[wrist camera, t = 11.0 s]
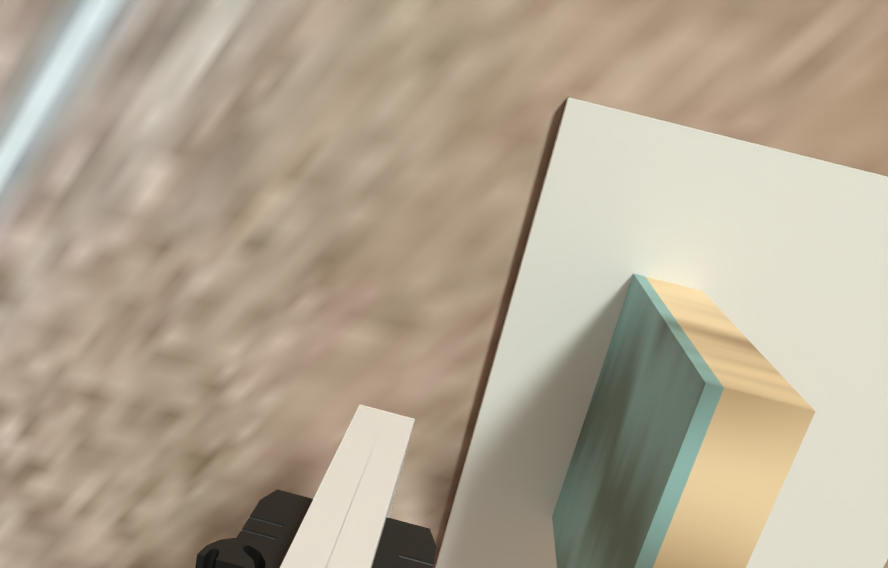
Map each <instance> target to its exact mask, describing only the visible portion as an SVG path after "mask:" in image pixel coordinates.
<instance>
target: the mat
mask: <svg viewBox="0 0 888 568" xmlns="http://www.w3.org/2000/svg"><path fill="white" fill-rule="evenodd" d="M633 274H638V275H642V276H646V277H650V278H654V279H658V280H662V281H665V282H669V283H673V284H677V285H681V286H685V287H689V288H693V289H697V290H701V291H703V292H704V293H705V294H706V295H707V296H708V297H709V298H710V300H711V301H712V302H713V303H714V304H715V305H716V306H717V307H718V308H719V309H720V310H721V311H722V312H723V313H724V314H725V316H726V317H727V318H728V319H729V320H730V321H731V322H732V323H733V324H734V325H735V326H736V327H737V328H738V329H739V330H740V332H741V333H742V334H743V335H744V336H745V337H746V338H747V339H748V340H749V341H750V342H751V343H752V344H753V345H754V346H755V348H756V349H757V350H758V351H759V352H760V353H761V354H762V355H763V356H764V357H765V358H766V359H767V360H768V361H769V362H770V364H771V365H772V366H773V367H774V368H775V369H776V370H777V371H778V372H779V373H780V374H781V375H782V376H783V377H784V378H785V380H786V381H787V382H788V383H789V384H790V385H791V386H792V387H793V388H794V389H795V390H796V391H797V392H798V393H799V394H800V396H801V397H802V398H803V399H804V400H805V401H806V402H807V403H808V404H809V405H810V406H811V407H812V408H813V409H814V410H815V411H816V412H815V414H814V416H813V418H812V421H811V423H810V425H809V427H808V430H807V432H806V434H805V436H804V439H803V441H802V443H801V445H800V448H799V450H798V452H797V454H796V456H795V459H794V461H793V463H792V465H791V468H790V470H789V472H788V474H787V477H786V479H785V481H784V483H783V486H782V488H781V490H780V492H779V495H778V497H777V499H776V501H775V504H774V506H773V508H772V510H771V513H770V515H769V517H768V519H767V522H766V524H765V526H764V528H763V530H762V533H761V535H760V537H759V539H758V542H757V544H756V546H755V548H754V551H753V553H752V555H751V557H750V560H749V562H748V564H747V566H746V568H883V567H884V565H885V563H886V561H887V559H888V177H887V176H883V175H879V174H875V173H871V172H867V171H863V170H859V169H855V168H851V167H847V166H843V165H839V164H835V163H830V162H826V161H822V160H818V159H814V158H810V157H806V156H802V155H798V154H794V153H790V152H786V151H782V150H778V149H774V148H770V147H766V146H762V145H758V144H754V143H750V142H746V141H742V140H738V139H734V138H730V137H726V136H722V135H718V134H714V133H710V132H706V131H702V130H698V129H694V128H690V127H686V126H682V125H678V124H674V123H670V122H666V121H662V120H658V119H654V118H650V117H646V116H642V115H638V114H634V113H630V112H626V111H622V110H618V109H614V108H610V107H606V106H602V105H598V104H594V103H590V102H586V101H582V100H578V99H574V98H570V97H567V100H566V104H565V107H564V111H563V115H562V118H561V122H560V125H559V129H558V132H557V136H556V139H555V143H554V147H553V150H552V154H551V157H550V161H549V164H548V168H547V171H546V175H545V178H544V182H543V186H542V189H541V193H540V196H539V200H538V203H537V207H536V210H535V214H534V217H533V221H532V225H531V228H530V232H529V235H528V239H527V242H526V246H525V249H524V253H523V257H522V260H521V264H520V267H519V271H518V274H517V278H516V281H515V285H514V288H513V292H512V296H511V299H510V303H509V306H508V310H507V313H506V317H505V320H504V324H503V328H502V331H501V335H500V338H499V342H498V345H497V349H496V352H495V356H494V359H493V363H492V367H491V370H490V374H489V377H488V381H487V384H486V388H485V391H484V395H483V399H482V402H481V406H480V409H479V413H478V416H477V420H476V423H475V427H474V430H473V434H472V438H471V441H470V445H469V448H468V452H467V455H466V459H465V462H464V466H463V470H462V473H461V477H460V480H459V484H458V487H457V491H456V494H455V498H454V501H453V505H452V509H451V512H450V516H449V519H448V523H447V526H446V530H445V533H444V537H443V540H442V544H441V548H440V551H439V555H438V558H437V562H436V565H435V568H557V563H556V552H555V542H554V532H553V521H552V516H553V513H554V510H555V507H556V504H557V501H558V498H559V495H560V492H561V489H562V486H563V483H564V480H565V477H566V474H567V471H568V468H569V465H570V462H571V459H572V456H573V453H574V450H575V447H576V444H577V441H578V438H579V435H580V432H581V429H582V426H583V423H584V420H585V417H586V414H587V411H588V408H589V405H590V402H591V399H592V396H593V393H594V390H595V387H596V384H597V381H598V378H599V375H600V372H601V369H602V366H603V363H604V360H605V357H606V354H607V351H608V348H609V345H610V342H611V339H612V336H613V333H614V330H615V327H616V324H617V321H618V318H619V315H620V312H621V309H622V306H623V303H624V300H625V297H626V294H627V292H628V289H629V286H630V283H631V280H632V277H633Z"/></svg>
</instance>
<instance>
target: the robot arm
mask: <svg viewBox="0 0 888 568" xmlns="http://www.w3.org/2000/svg"><path fill="white" fill-rule="evenodd" d="M414 420H415V419H413V418H409V417H406V416H402V415H398V414H394V413H391V412H387V411H383V410H379V409H375V408H372V407H368V406H364V405H359V407H358V409H357V411H356V413H355V415H354V417H353V419H352V421H351V423H350V425H349V427H348V429H347V431H346V433H345V435H344V438H343V440H342V442H341V444H340V446H339V448H338V450H337V452H336V454H335V456H334V458H333V460H332V462H331V464H330V466H329V468H328V470H327V472H326V474H325V476H324V478H323V480H322V483H321V485H320V487H319V489H318V491H317V493H316V495H315V497H314V499H311V498H307V497H303V496H299V495H296V494H292V493H288V492H285V491H281V490H275V491H274V492H272V493H271V494H269V495H268V496H266V497H265V498H263V499H261V500H260V501H259V503H258V504H257V506H256V508H255V509H254V511H253V512H252V514H251V516H250V519H248V521H247V522H246V524H245V525H244V527H243V529H242V531H241V532H240V534H239V535H238V537H237V538H231V539H224V540H218V541H216V542H214V543H211V544H209V545H207V546H206V547H205V548H204V549H202V550H201V551H200V552H199V553H198V554H197V561H196V567H195V568H433V562H434V556H435V550H436V544H435V542H434V539H433V536H432V534H431V531H430V529H428V528H425V527H421V526H417V525H413V524H410V523H406V522H402V521H399V520H395V519H391V518H390V514H391V511H392V508H393V504H394V500H395V496H396V492H397V488H398V484H399V480H400V476H401V472H402V468H403V464H404V460H405V456H406V452H407V448H408V444H409V440H410V436H411V432H412V428H413V424H414Z"/></svg>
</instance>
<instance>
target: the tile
mask: <svg viewBox="0 0 888 568" xmlns="http://www.w3.org/2000/svg"><path fill="white" fill-rule="evenodd" d="M815 412H816V411H815V410H814V409H813V408H812V407H811V406H810V405H809V404H808V403H807V402H806V401H805V400H804V399H803V398H802V397H801V396H800V394H799V393H798V392H797V391H796V390H795V389H794V388H793V387H792V386H791V385H790V384H789V383H788V382H787V381H786V380H785V378H784V377H783V376H782V375H781V374H780V373H779V372H778V371H777V370H776V369H775V368H774V367H773V366H772V365H771V364H770V362H769V361H768V360H767V359H766V358H765V357H764V356H763V355H762V354H761V353H760V352H759V351H758V350H757V349H756V348H755V346H754V345H753V344H752V343H751V342H750V341H749V340H748V339H747V338H746V337H745V336H744V335H743V334H742V333H741V332H740V330H739V329H738V328H737V327H736V326H735V325H734V324H733V323H732V322H731V321H730V320H729V319H728V318H727V317H726V316H725V314H724V313H723V312H722V311H721V310H720V309H719V308H718V307H717V306H716V305H715V304H714V303H713V302H712V301H711V300H710V298H709V297H708V296H707V295H706V294H705V293H704V292H703V291H701V290H697V289H693V288H689V287H685V286H681V285H677V284H673V283H669V282H665V281H662V280H658V279H654V278H650V277H646V276H642V275H638V274H633V277H632V280H631V283H630V286H629V289H628V292H627V294H626V297H625V300H624V303H623V306H622V309H621V312H620V315H619V318H618V321H617V324H616V327H615V330H614V333H613V336H612V339H611V342H610V345H609V348H608V351H607V354H606V357H605V360H604V363H603V366H602V369H601V372H600V375H599V378H598V381H597V384H596V387H595V390H594V393H593V396H592V399H591V402H590V405H589V408H588V411H587V414H586V417H585V420H584V423H583V426H582V429H581V432H580V435H579V438H578V441H577V444H576V447H575V450H574V453H573V456H572V459H571V462H570V465H569V468H568V471H567V474H566V477H565V480H564V483H563V486H562V489H561V492H560V495H559V498H558V501H557V504H556V507H555V510H554V513H553V516H552V521H553V532H554V542H555V552H556V563H557V568H746V566H747V564H748V562H749V560H750V557H751V555H752V553H753V551H754V548H755V546H756V544H757V542H758V539H759V537H760V535H761V533H762V530H763V528H764V526H765V524H766V522H767V519H768V517H769V515H770V513H771V510H772V508H773V506H774V504H775V501H776V499H777V497H778V495H779V492H780V490H781V488H782V486H783V483H784V481H785V479H786V477H787V474H788V472H789V470H790V468H791V465H792V463H793V461H794V459H795V456H796V454H797V452H798V450H799V448H800V445H801V443H802V441H803V439H804V436H805V434H806V432H807V430H808V427H809V425H810V423H811V421H812V418H813V416H814V414H815Z"/></svg>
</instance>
